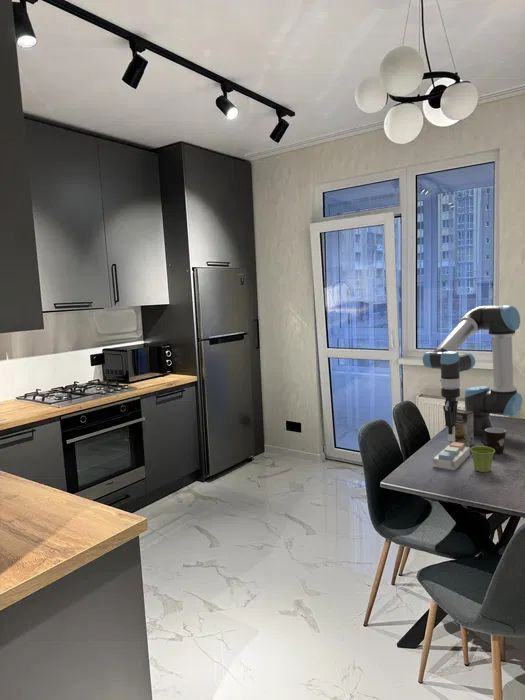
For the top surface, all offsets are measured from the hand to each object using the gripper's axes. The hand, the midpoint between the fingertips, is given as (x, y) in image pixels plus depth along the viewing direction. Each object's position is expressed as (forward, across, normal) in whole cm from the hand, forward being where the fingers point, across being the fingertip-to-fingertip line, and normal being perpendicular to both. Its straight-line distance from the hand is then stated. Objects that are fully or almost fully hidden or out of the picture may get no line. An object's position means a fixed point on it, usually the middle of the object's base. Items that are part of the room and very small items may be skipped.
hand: (451, 440), depth 221 cm
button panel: (+9, 0, 0) cm, 9 cm away
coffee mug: (+9, -19, +12) cm, 24 cm away
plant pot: (+9, +6, +14) cm, 18 cm away
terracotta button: (+7, -8, 0) cm, 10 cm away
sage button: (+7, 0, 0) cm, 7 cm away
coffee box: (+9, -25, -3) cm, 27 cm away
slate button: (+7, +7, 0) cm, 10 cm away
